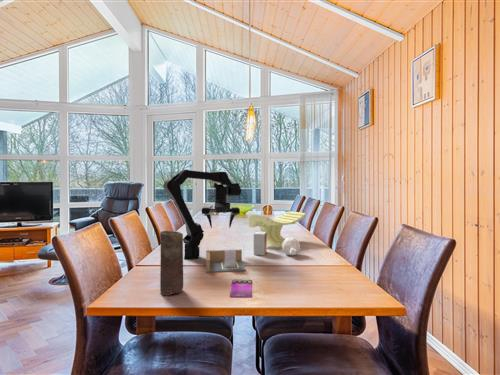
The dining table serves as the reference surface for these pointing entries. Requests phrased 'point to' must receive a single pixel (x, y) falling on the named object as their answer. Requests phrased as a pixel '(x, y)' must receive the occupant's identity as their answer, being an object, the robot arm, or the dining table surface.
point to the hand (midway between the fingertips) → (220, 227)
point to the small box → (260, 243)
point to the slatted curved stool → (275, 225)
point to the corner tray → (222, 261)
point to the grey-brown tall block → (171, 262)
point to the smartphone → (241, 288)
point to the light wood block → (230, 259)
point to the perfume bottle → (291, 246)
